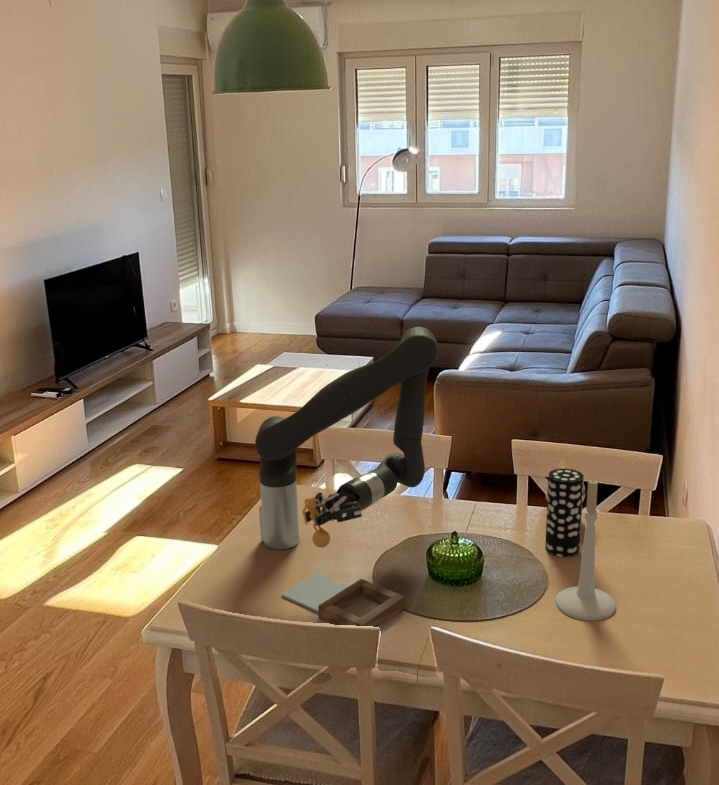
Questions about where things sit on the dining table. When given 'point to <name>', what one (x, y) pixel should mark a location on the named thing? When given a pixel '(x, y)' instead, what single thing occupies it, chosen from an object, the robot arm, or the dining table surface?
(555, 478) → the white-spotted black cylinder
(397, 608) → the pocket frame
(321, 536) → the figurine
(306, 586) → the ceramic tile
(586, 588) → the candlestick
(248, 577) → the dining table surface
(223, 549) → the dining table surface
